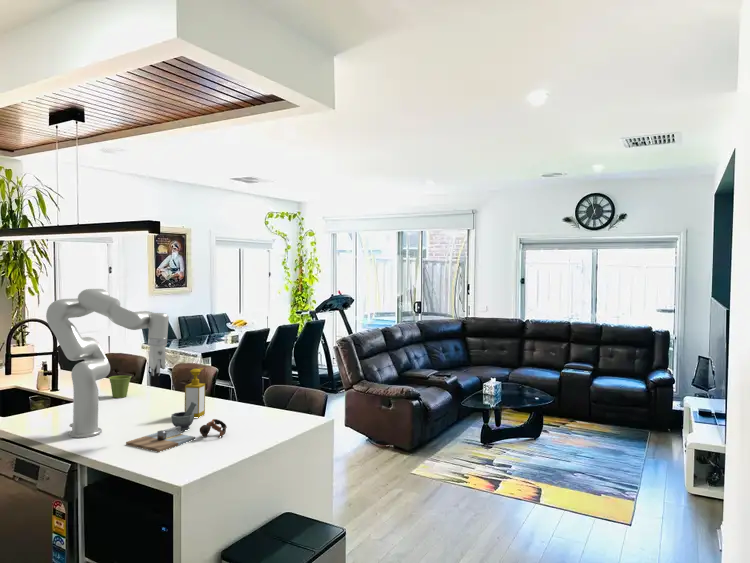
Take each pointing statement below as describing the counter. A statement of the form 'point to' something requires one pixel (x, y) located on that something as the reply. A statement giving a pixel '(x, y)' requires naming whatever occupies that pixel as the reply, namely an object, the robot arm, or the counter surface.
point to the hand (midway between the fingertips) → (154, 384)
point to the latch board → (159, 442)
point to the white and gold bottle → (195, 394)
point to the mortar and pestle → (184, 418)
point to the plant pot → (119, 386)
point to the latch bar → (168, 433)
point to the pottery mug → (206, 428)
